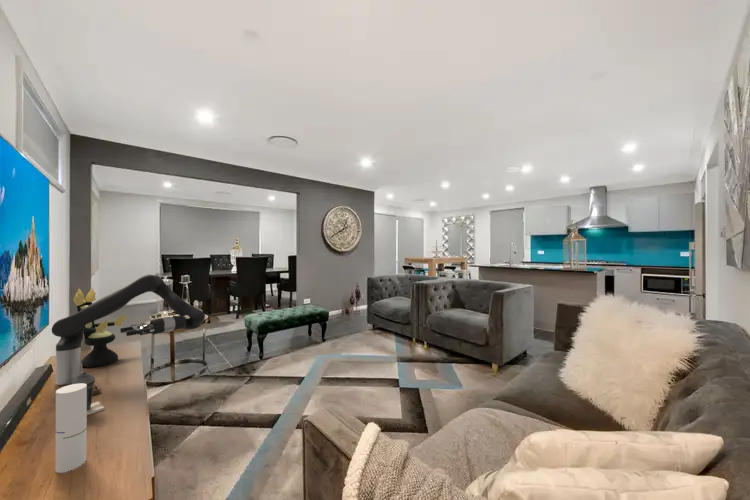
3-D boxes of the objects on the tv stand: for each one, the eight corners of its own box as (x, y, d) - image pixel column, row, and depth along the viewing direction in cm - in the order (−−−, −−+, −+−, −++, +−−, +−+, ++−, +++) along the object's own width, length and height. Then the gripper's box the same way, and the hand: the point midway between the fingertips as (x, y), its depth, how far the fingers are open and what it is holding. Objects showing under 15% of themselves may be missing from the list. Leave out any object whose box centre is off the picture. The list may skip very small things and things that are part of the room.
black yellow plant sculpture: (107, 368, 178) (107, 289, 177) (60, 370, 173) (61, 290, 172) (125, 356, 196) (126, 285, 196) (84, 358, 191) (85, 286, 191)
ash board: (60, 414, 129) (60, 412, 129) (98, 403, 139) (98, 401, 139) (65, 422, 124) (65, 419, 124) (104, 409, 133) (104, 407, 133)
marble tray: (70, 394, 146) (70, 387, 146) (95, 387, 154) (95, 380, 153) (75, 400, 141) (75, 392, 141) (101, 393, 148) (101, 385, 148)
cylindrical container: (69, 457, 103) (69, 383, 103) (92, 456, 104) (92, 383, 104) (48, 473, 96) (49, 393, 96) (73, 472, 97) (73, 393, 97)
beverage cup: (80, 415, 127) (80, 367, 127) (66, 413, 128) (66, 365, 128) (99, 406, 134) (99, 360, 134) (85, 404, 136) (86, 359, 135)
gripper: (157, 316, 163) (118, 321, 150) (168, 320, 155) (128, 326, 142) (157, 330, 163) (118, 337, 150) (168, 335, 155) (128, 343, 142)
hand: (123, 332), depth 146 cm, fingers open, 8 cm apart
